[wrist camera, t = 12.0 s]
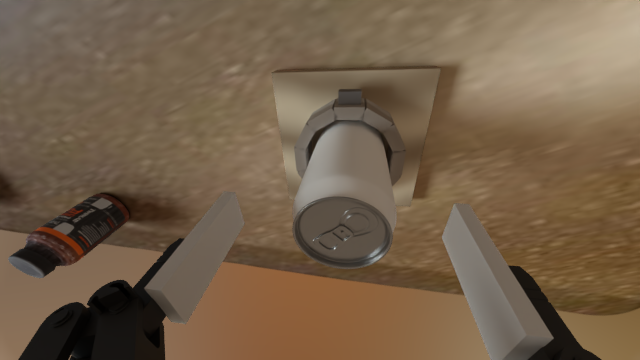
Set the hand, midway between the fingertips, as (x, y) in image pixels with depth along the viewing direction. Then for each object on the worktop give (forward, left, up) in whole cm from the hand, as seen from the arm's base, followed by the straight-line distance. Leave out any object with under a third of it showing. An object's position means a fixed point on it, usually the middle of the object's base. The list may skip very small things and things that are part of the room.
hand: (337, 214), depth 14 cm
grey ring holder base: (0, 0, -12) cm, 12 cm away
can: (0, 0, -11) cm, 11 cm away
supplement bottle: (+12, -37, -12) cm, 41 cm away
